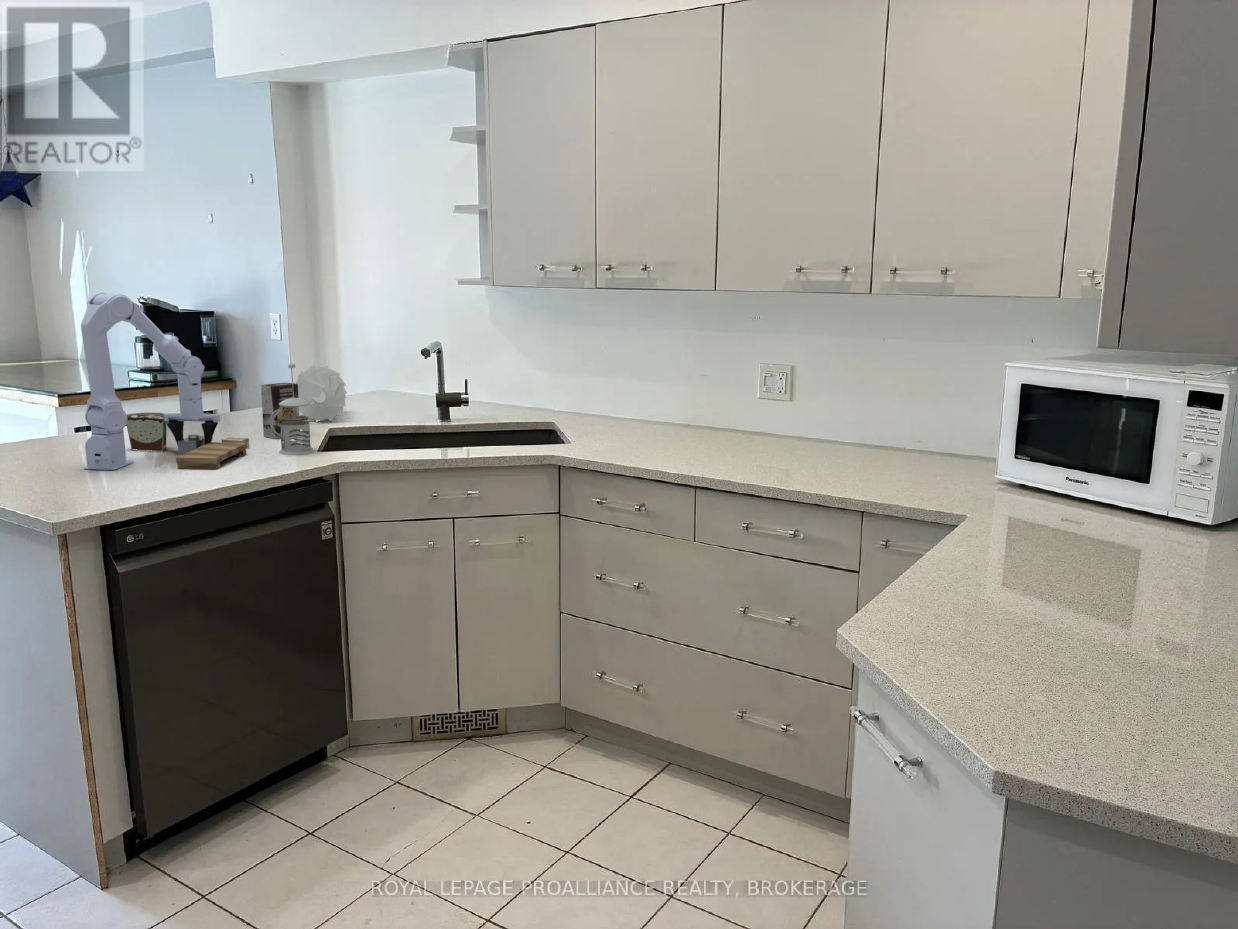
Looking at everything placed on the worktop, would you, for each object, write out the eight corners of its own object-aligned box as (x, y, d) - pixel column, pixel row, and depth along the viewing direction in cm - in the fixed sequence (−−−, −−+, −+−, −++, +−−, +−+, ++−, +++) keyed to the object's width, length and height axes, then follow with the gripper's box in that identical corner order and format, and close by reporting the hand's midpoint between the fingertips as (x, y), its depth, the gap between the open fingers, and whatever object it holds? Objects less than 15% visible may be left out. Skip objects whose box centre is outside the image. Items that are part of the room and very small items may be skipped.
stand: (215, 469, 231) (214, 458, 231) (176, 468, 231) (175, 457, 231) (247, 453, 251) (246, 443, 250) (211, 452, 251) (210, 442, 250)
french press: (320, 452, 255) (316, 364, 250) (279, 457, 248) (274, 366, 242) (306, 446, 262) (301, 360, 257) (266, 451, 255) (260, 363, 249)
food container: (180, 447, 257) (177, 412, 255) (168, 451, 251) (164, 416, 249) (140, 445, 258) (136, 411, 256) (126, 449, 252) (123, 414, 250)
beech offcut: (241, 451, 255) (241, 440, 255) (222, 449, 256) (221, 439, 256) (249, 448, 259) (248, 438, 259) (230, 447, 260) (229, 437, 259)
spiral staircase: (333, 422, 324) (335, 431, 300) (285, 403, 317) (283, 410, 294) (354, 376, 323) (357, 382, 300) (306, 355, 317) (305, 359, 294)
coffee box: (276, 439, 272) (272, 386, 268) (262, 436, 275) (259, 384, 272) (301, 435, 279) (298, 383, 276) (288, 432, 283) (285, 381, 279)
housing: (196, 456, 247) (195, 438, 246) (178, 455, 247) (177, 437, 246) (211, 449, 256) (209, 432, 255) (193, 449, 256) (192, 432, 255)
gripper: (223, 397, 252) (226, 444, 255) (171, 396, 252) (175, 443, 255) (212, 400, 246) (215, 449, 248) (158, 399, 245) (163, 448, 248)
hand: (194, 446), depth 251 cm, fingers open, 7 cm apart
